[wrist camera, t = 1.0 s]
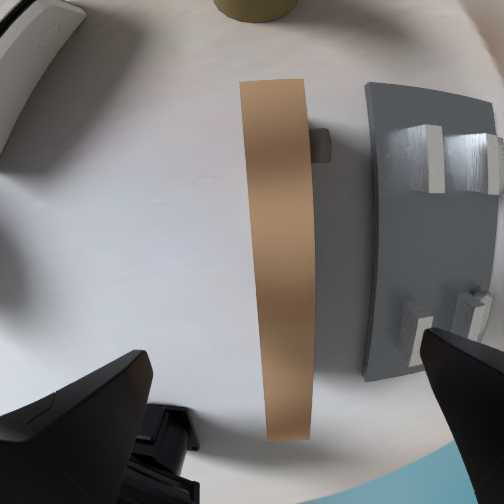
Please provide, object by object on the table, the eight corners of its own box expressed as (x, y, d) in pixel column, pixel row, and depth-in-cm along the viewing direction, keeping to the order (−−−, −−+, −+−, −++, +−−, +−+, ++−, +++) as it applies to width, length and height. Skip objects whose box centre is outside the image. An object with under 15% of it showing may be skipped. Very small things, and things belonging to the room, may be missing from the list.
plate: (465, 352, 22) (483, 373, 18) (362, 374, 22) (373, 402, 19) (484, 104, 16) (511, 99, 12) (364, 85, 16) (383, 71, 13)
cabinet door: (314, 361, 22) (329, 437, 14) (268, 364, 22) (267, 441, 15) (307, 114, 17) (334, 79, 10) (250, 117, 18) (239, 82, 10)
